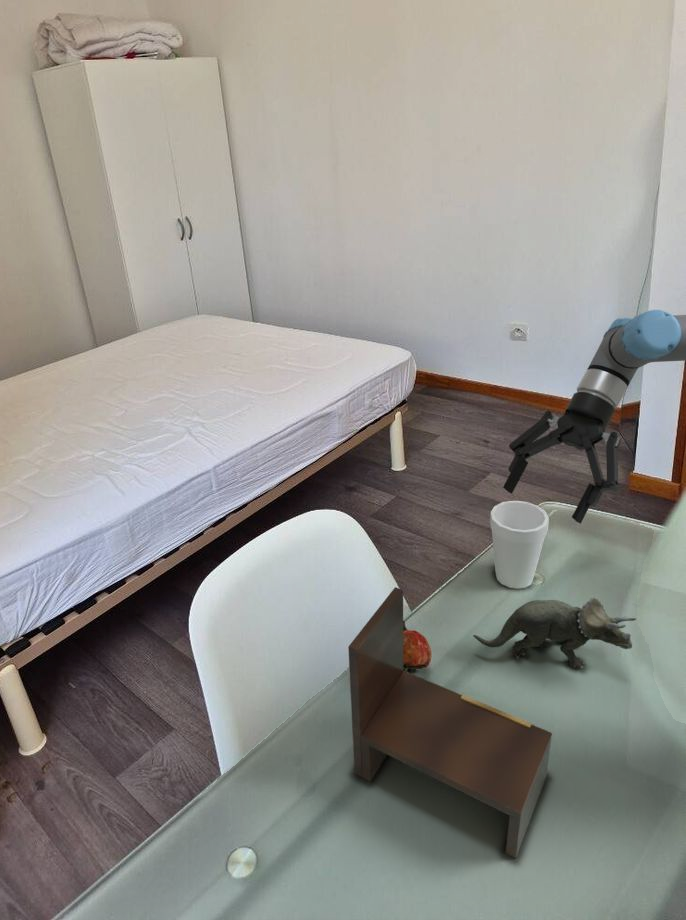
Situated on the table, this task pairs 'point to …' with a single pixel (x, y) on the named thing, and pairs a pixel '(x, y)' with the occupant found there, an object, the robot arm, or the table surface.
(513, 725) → the shelf
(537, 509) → the foam cup
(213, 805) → the table surface
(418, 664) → the pomegranate
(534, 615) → the toy dinosaur
